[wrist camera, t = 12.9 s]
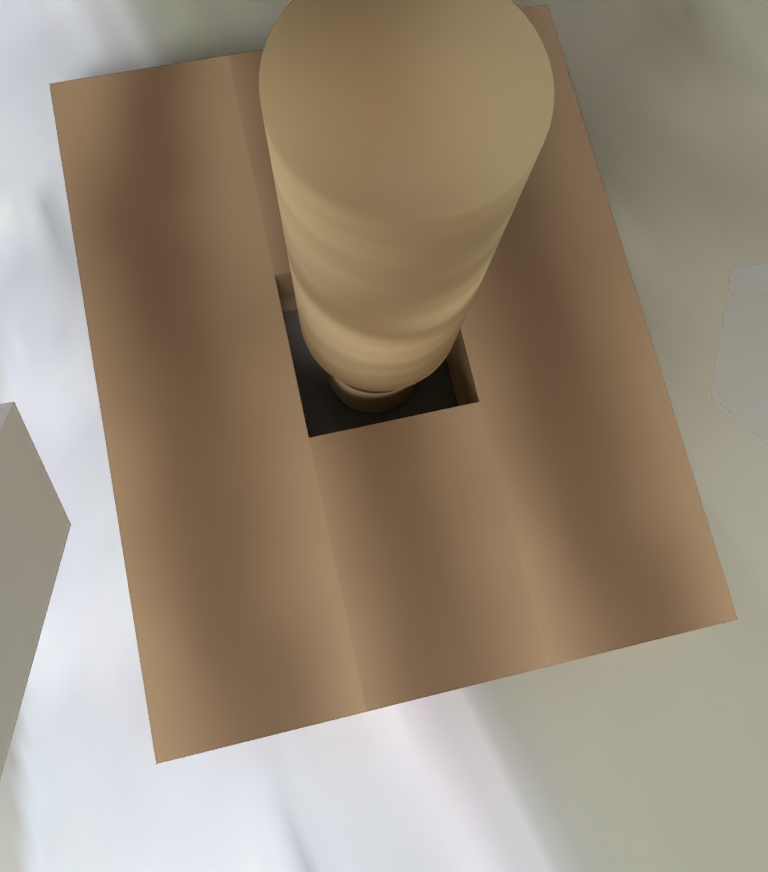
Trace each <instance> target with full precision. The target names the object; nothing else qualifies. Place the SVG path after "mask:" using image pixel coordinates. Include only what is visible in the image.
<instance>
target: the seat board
mask: <svg viewBox="0 0 768 872" xmlns="http://www.w3.org/2000/svg"><path fill="white" fill-rule="evenodd" d="M520 10H521V11H522V12H523V13H524V14H525V16H526V17H527V18H528V20H529V21H530V22H531V24H532V25H533V27H534V28H535V30H536V31H537V33H538V35H539V37H540V39H541V41H542V42H543V45H544V47H545V50H546V52H547V55H548V58H549V61H550V65H551V69H552V74H553V81H554V93H555V94H554V109H553V115H552V119H551V124H550V128H549V131H548V133H547V136H546V139H545V141H544V144H543V146H542V148H541V150H540V153H539V155H538V157H537V159H536V162H535V164H534V166H533V168H532V170H531V173H530V175H529V177H528V179H527V182H526V184H525V186H524V188H523V190H522V193H521V195H520V197H519V199H518V202H517V204H516V206H515V208H514V210H513V213H512V215H511V217H510V219H509V222H508V224H507V226H506V228H505V230H504V233H503V235H502V237H501V239H500V242H499V244H498V246H497V248H496V250H495V253H494V255H493V257H492V259H491V262H490V264H489V266H488V268H487V270H486V273H485V275H484V277H483V279H482V282H481V284H480V286H479V288H478V290H477V293H476V295H475V297H474V299H473V302H472V304H471V306H470V308H469V310H468V313H467V315H466V317H465V319H464V322H463V324H462V326H461V328H460V330H459V333H458V335H457V337H456V339H455V342H454V344H453V346H452V348H451V350H450V352H449V353H448V355H447V357H446V359H447V363H448V367H449V371H450V375H451V379H452V383H453V387H454V391H455V395H456V399H457V403H458V406H457V407H453V408H448V409H443V410H438V411H434V412H429V413H424V414H419V415H415V416H410V417H405V418H400V419H396V420H391V421H386V422H382V423H377V424H372V425H367V426H363V427H358V428H353V429H348V430H344V431H339V432H334V433H329V434H325V435H320V436H315V437H309V433H308V428H307V423H306V418H305V414H304V409H303V404H302V399H301V395H300V390H299V385H298V380H297V376H296V371H295V366H294V362H293V357H292V352H291V347H290V343H289V338H288V333H287V328H286V324H285V319H284V314H283V312H287V311H293V310H298V309H297V304H296V298H295V293H294V287H293V282H292V276H291V271H290V265H289V259H288V254H287V248H286V243H285V237H284V232H283V226H282V220H281V215H280V209H279V204H278V198H277V193H276V187H275V181H274V176H273V170H272V165H271V159H270V154H269V148H268V143H267V137H266V131H265V126H264V120H263V115H262V109H261V102H260V95H259V69H260V63H261V57H262V53H263V50H259V51H252V52H246V53H240V54H234V55H227V56H221V57H215V58H208V59H202V60H196V61H190V62H183V63H177V64H171V65H164V66H158V67H152V68H146V69H139V70H133V71H127V72H120V73H114V74H108V75H102V76H95V77H89V78H83V79H76V80H70V81H64V82H57V83H51V84H50V90H51V97H52V103H53V110H54V116H55V122H56V129H57V135H58V141H59V148H60V154H61V160H62V167H63V173H64V180H65V186H66V192H67V199H68V205H69V211H70V218H71V224H72V230H73V237H74V243H75V250H76V256H77V262H78V269H79V275H80V281H81V288H82V294H83V300H84V307H85V313H86V320H87V326H88V332H89V339H90V345H91V351H92V358H93V364H94V370H95V377H96V383H97V390H98V396H99V402H100V409H101V415H102V421H103V428H104V434H105V440H106V447H107V453H108V460H109V466H110V472H111V479H112V485H113V491H114V498H115V504H116V510H117V517H118V523H119V530H120V536H121V542H122V549H123V555H124V561H125V568H126V574H127V580H128V587H129V593H130V600H131V606H132V612H133V619H134V625H135V631H136V638H137V644H138V650H139V657H140V663H141V670H142V676H143V682H144V689H145V695H146V701H147V708H148V714H149V720H150V727H151V733H152V739H153V746H154V752H155V759H156V764H158V763H162V762H166V761H170V760H174V759H178V758H182V757H186V756H190V755H194V754H198V753H202V752H206V751H210V750H214V749H218V748H222V747H226V746H230V745H234V744H238V743H242V742H246V741H250V740H254V739H258V738H262V737H266V736H270V735H274V734H278V733H282V732H286V731H290V730H295V729H299V728H303V727H307V726H311V725H315V724H319V723H323V722H327V721H331V720H335V719H339V718H343V717H347V716H351V715H355V714H359V713H363V712H367V711H371V710H375V709H379V708H383V707H387V706H391V705H395V704H399V703H403V702H407V701H411V700H415V699H419V698H423V697H427V696H431V695H435V694H439V693H443V692H447V691H451V690H455V689H459V688H463V687H467V686H471V685H475V684H479V683H483V682H487V681H491V680H495V679H500V678H504V677H508V676H512V675H516V674H520V673H524V672H528V671H532V670H536V669H540V668H544V667H548V666H552V665H556V664H560V663H564V662H568V661H572V660H576V659H580V658H584V657H588V656H592V655H596V654H600V653H604V652H608V651H612V650H616V649H620V648H624V647H628V646H632V645H636V644H640V643H644V642H648V641H652V640H656V639H660V638H664V637H668V636H672V635H676V634H680V633H684V632H688V631H692V630H696V629H700V628H705V627H709V626H713V625H717V624H721V623H725V622H729V621H733V620H737V616H736V613H735V609H734V606H733V603H732V600H731V596H730V593H729V590H728V587H727V584H726V580H725V577H724V574H723V571H722V567H721V564H720V561H719V558H718V554H717V551H716V548H715V545H714V542H713V538H712V535H711V532H710V529H709V525H708V522H707V519H706V516H705V512H704V509H703V506H702V503H701V499H700V496H699V493H698V490H697V487H696V483H695V480H694V477H693V474H692V470H691V467H690V464H689V461H688V457H687V454H686V451H685V448H684V445H683V441H682V438H681V435H680V432H679V428H678V425H677V422H676V419H675V415H674V412H673V409H672V406H671V403H670V399H669V396H668V393H667V390H666V386H665V383H664V380H663V377H662V373H661V370H660V367H659V364H658V361H657V357H656V354H655V351H654V348H653V344H652V341H651V338H650V335H649V331H648V328H647V325H646V322H645V319H644V315H643V312H642V309H641V306H640V302H639V299H638V296H637V293H636V289H635V286H634V283H633V280H632V276H631V273H630V270H629V267H628V264H627V260H626V257H625V254H624V251H623V247H622V244H621V241H620V238H619V234H618V231H617V228H616V225H615V222H614V218H613V215H612V212H611V209H610V205H609V202H608V199H607V196H606V192H605V189H604V186H603V183H602V180H601V176H600V173H599V170H598V167H597V163H596V160H595V157H594V154H593V150H592V147H591V144H590V141H589V138H588V134H587V131H586V128H585V125H584V121H583V118H582V115H581V112H580V108H579V105H578V102H577V99H576V96H575V92H574V89H573V86H572V83H571V79H570V76H569V73H568V70H567V66H566V63H565V60H564V57H563V53H562V50H561V47H560V44H559V41H558V37H557V34H556V31H555V28H554V24H553V21H552V18H551V15H550V11H549V8H548V5H542V6H535V7H529V8H523V9H520Z"/></svg>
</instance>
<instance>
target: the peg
mask: <svg viewBox="0 0 768 872" xmlns="http://www.w3.org/2000/svg"><path fill="white" fill-rule="evenodd" d="M554 94H555V93H554V81H553V74H552V69H551V65H550V61H549V58H548V55H547V52H546V50H545V47H544V45H543V42H542V41H541V39H540V37H539V35H538V33H537V31H536V30H535V28H534V27H533V25H532V24H531V22H530V21H529V20H528V18H527V17H526V16H525V14H524V13H523V12H522V11H521V10H520V9H519V8H518V7H517V6H516V5H515V4H514V2H513V1H512V0H293V1H292V2H291V3H290V4H289V5H288V6H287V7H286V8H285V10H284V11H283V12H282V14H281V15H280V17H279V18H278V20H277V21H276V23H275V24H274V26H273V28H272V30H271V32H270V34H269V36H268V38H267V41H266V44H265V47H264V50H263V53H262V57H261V63H260V69H259V95H260V102H261V109H262V115H263V120H264V126H265V131H266V137H267V143H268V148H269V154H270V159H271V165H272V170H273V176H274V181H275V187H276V193H277V198H278V204H279V209H280V215H281V220H282V226H283V232H284V237H285V243H286V248H287V254H288V259H289V265H290V271H291V276H292V282H293V287H294V293H295V298H296V304H297V309H298V315H299V321H300V326H301V331H302V334H303V338H304V341H305V343H306V345H307V347H308V349H309V351H310V353H311V354H312V356H313V358H314V359H315V360H316V361H317V362H318V364H319V365H320V366H321V367H322V368H323V369H324V370H325V371H326V372H328V379H329V382H330V385H331V387H332V389H333V391H334V392H335V394H336V395H337V397H338V398H339V399H340V400H341V401H342V402H343V403H345V404H346V405H348V406H349V407H351V408H353V409H355V410H358V411H361V412H366V413H380V412H385V411H388V410H391V409H393V408H395V407H397V406H398V405H400V404H401V403H402V402H404V401H405V400H406V399H407V398H408V396H409V395H410V394H411V392H412V390H413V388H414V386H415V383H418V382H419V381H421V380H423V379H424V378H426V377H427V376H429V375H430V374H431V373H433V372H434V371H435V370H436V369H437V368H438V367H439V366H440V365H441V364H442V362H443V361H444V360H445V358H446V357H447V355H448V353H449V352H450V350H451V348H452V346H453V344H454V342H455V339H456V337H457V335H458V333H459V330H460V328H461V326H462V324H463V322H464V319H465V317H466V315H467V313H468V310H469V308H470V306H471V304H472V302H473V299H474V297H475V295H476V293H477V290H478V288H479V286H480V284H481V282H482V279H483V277H484V275H485V273H486V270H487V268H488V266H489V264H490V262H491V259H492V257H493V255H494V253H495V250H496V248H497V246H498V244H499V242H500V239H501V237H502V235H503V233H504V230H505V228H506V226H507V224H508V222H509V219H510V217H511V215H512V213H513V210H514V208H515V206H516V204H517V202H518V199H519V197H520V195H521V193H522V190H523V188H524V186H525V184H526V182H527V179H528V177H529V175H530V173H531V170H532V168H533V166H534V164H535V162H536V159H537V157H538V155H539V153H540V150H541V148H542V146H543V144H544V141H545V139H546V136H547V133H548V131H549V128H550V124H551V119H552V115H553V109H554Z"/></svg>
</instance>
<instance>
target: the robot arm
mask: <svg viewBox="0 0 768 872" xmlns="http://www.w3.org/2000/svg"><path fill="white" fill-rule="evenodd" d="M711 396H712V397H713V398H714V399H715V400H717V401H718V402H719V403H720V404H721V405H722V406H724V407H725V408H726V409H727V410H728V411H729V412H731V413H732V414H733V415H734V416H735V417H736V418H738V419H739V420H740V421H741V422H742V423H743V424H744V425H746V426H747V427H748V428H749V429H750V430H751V431H753V432H754V433H755V434H756V435H757V436H758V437H760V438H761V439H762V440H763V441H764V442H765V443H767V444H768V263H764V264H759V265H753V266H748V267H743V268H737V269H732V270H731V276H730V282H729V288H728V294H727V300H726V306H725V313H724V319H723V325H722V331H721V337H720V343H719V349H718V355H717V361H716V367H715V373H714V379H713V385H712V391H711ZM70 526H71V523H70V521H69V519H68V517H67V515H66V513H65V511H64V508H63V506H62V504H61V502H60V500H59V498H58V495H57V493H56V491H55V489H54V487H53V485H52V482H51V480H50V478H49V476H48V474H47V472H46V469H45V467H44V465H43V463H42V461H41V459H40V457H39V454H38V452H37V450H36V448H35V446H34V444H33V441H32V439H31V437H30V435H29V433H28V431H27V428H26V426H25V424H24V422H23V420H22V418H21V415H20V413H19V411H18V409H17V407H16V405H15V402H10V403H4V404H0V779H1V775H2V771H3V768H4V764H5V761H6V757H7V753H8V750H9V746H10V742H11V739H12V735H13V732H14V728H15V724H16V721H17V717H18V714H19V710H20V706H21V703H22V699H23V696H24V692H25V688H26V685H27V681H28V677H29V674H30V670H31V667H32V663H33V659H34V656H35V652H36V649H37V645H38V641H39V638H40V634H41V631H42V627H43V623H44V620H45V616H46V612H47V609H48V605H49V602H50V598H51V594H52V591H53V587H54V584H55V580H56V576H57V573H58V569H59V566H60V562H61V558H62V555H63V551H64V548H65V544H66V540H67V537H68V533H69V529H70Z"/></svg>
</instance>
